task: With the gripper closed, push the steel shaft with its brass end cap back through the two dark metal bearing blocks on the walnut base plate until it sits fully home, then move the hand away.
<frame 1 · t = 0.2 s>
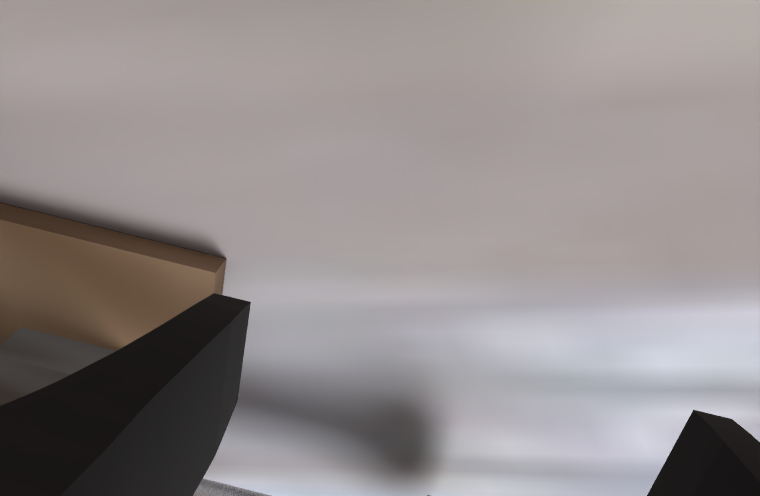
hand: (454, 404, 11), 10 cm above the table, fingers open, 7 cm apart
shaft: (117, 491, 21), point 4 cm above the table, slide at 7.0 cm
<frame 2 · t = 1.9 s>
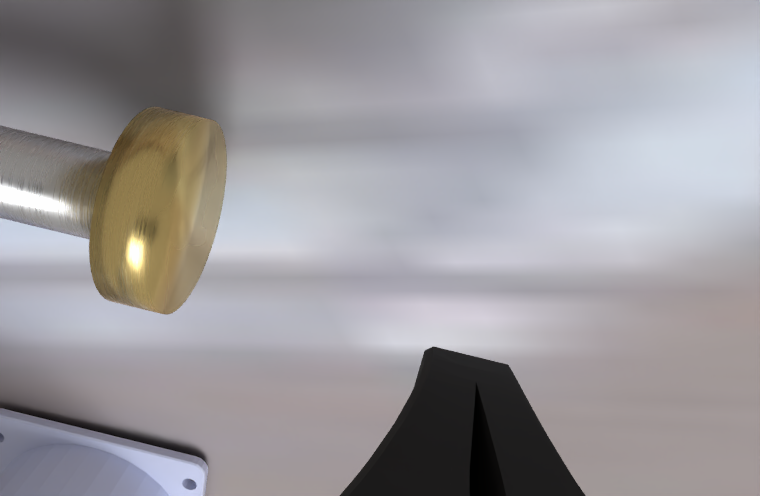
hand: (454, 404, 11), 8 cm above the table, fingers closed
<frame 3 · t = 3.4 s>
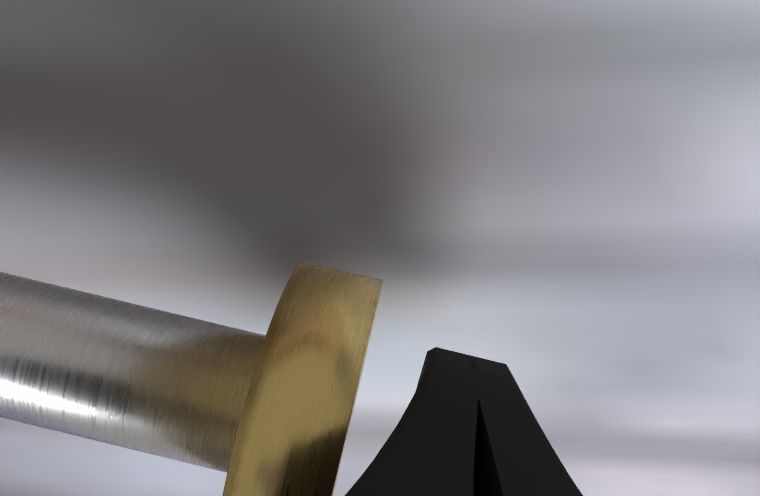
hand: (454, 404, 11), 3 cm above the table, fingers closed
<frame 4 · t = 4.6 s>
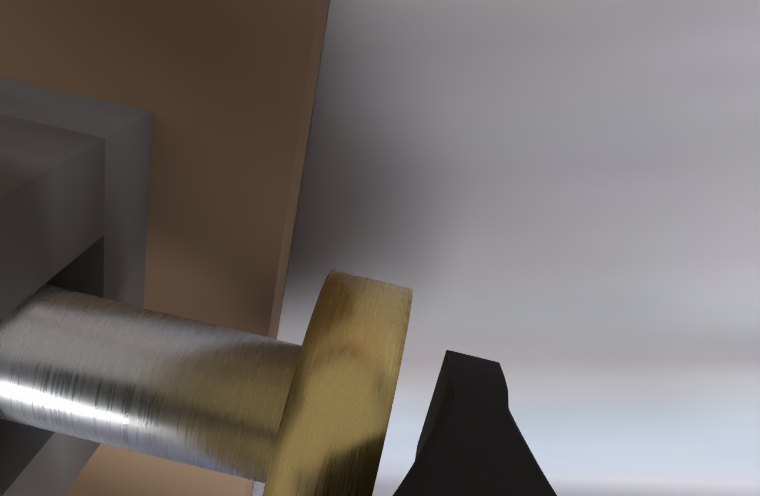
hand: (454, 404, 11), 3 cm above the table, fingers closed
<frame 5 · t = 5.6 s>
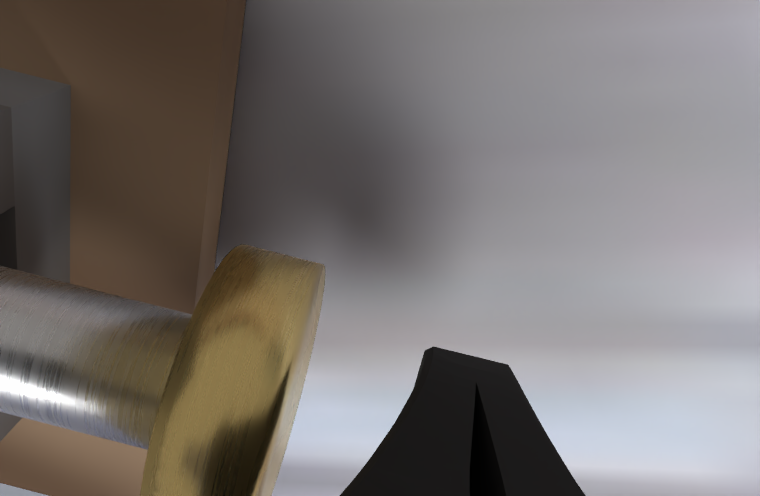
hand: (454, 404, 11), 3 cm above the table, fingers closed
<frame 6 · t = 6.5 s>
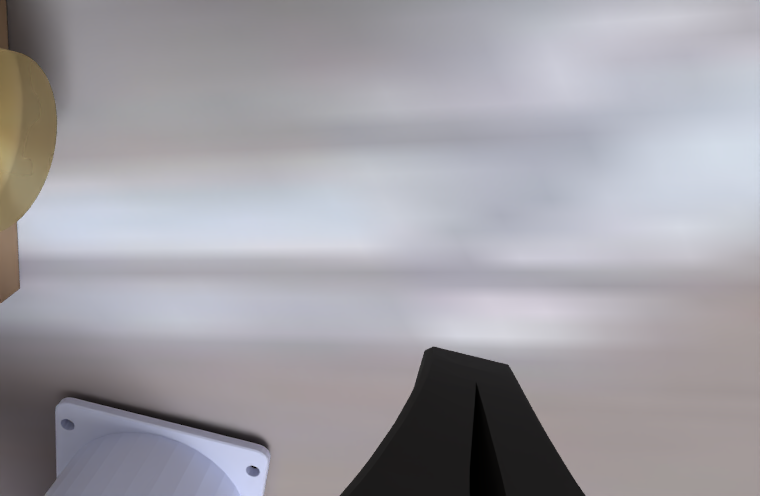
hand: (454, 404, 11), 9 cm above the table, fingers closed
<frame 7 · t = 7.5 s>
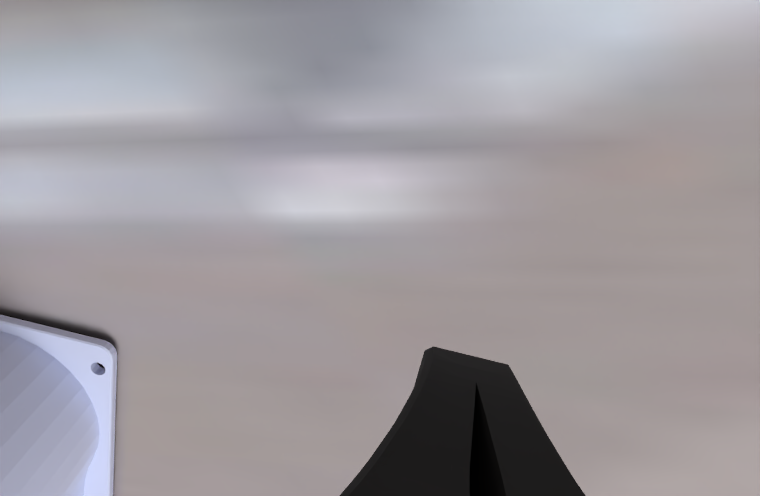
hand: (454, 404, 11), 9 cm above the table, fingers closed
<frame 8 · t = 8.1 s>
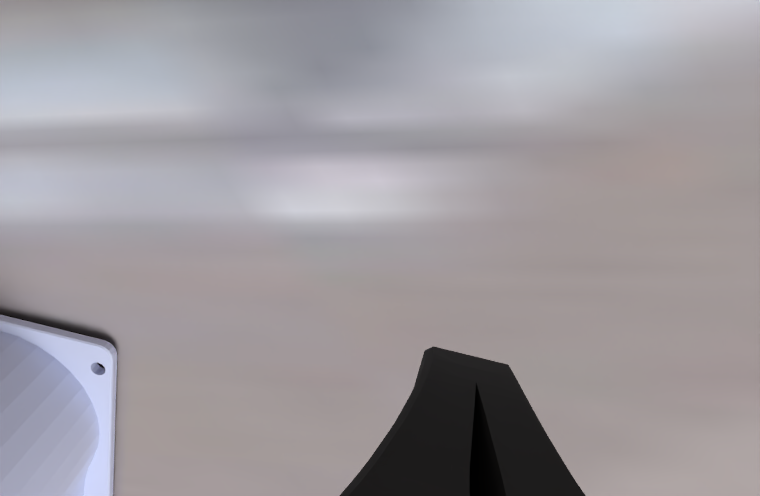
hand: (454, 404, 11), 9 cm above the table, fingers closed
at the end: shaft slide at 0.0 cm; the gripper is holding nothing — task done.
